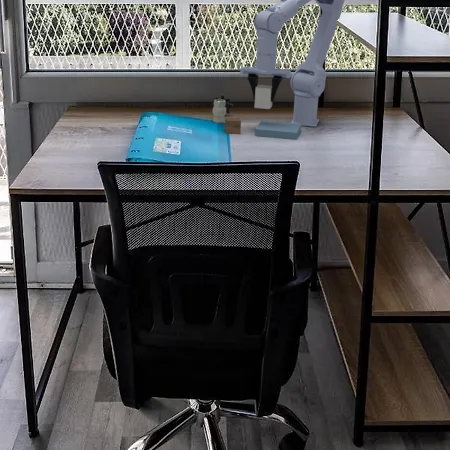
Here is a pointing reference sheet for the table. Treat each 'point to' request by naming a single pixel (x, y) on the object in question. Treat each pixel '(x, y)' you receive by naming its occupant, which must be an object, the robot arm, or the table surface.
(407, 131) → the table surface
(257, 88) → the white block
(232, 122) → the walnut block
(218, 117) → the valve
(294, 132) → the base board
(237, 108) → the table surface
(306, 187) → the table surface
